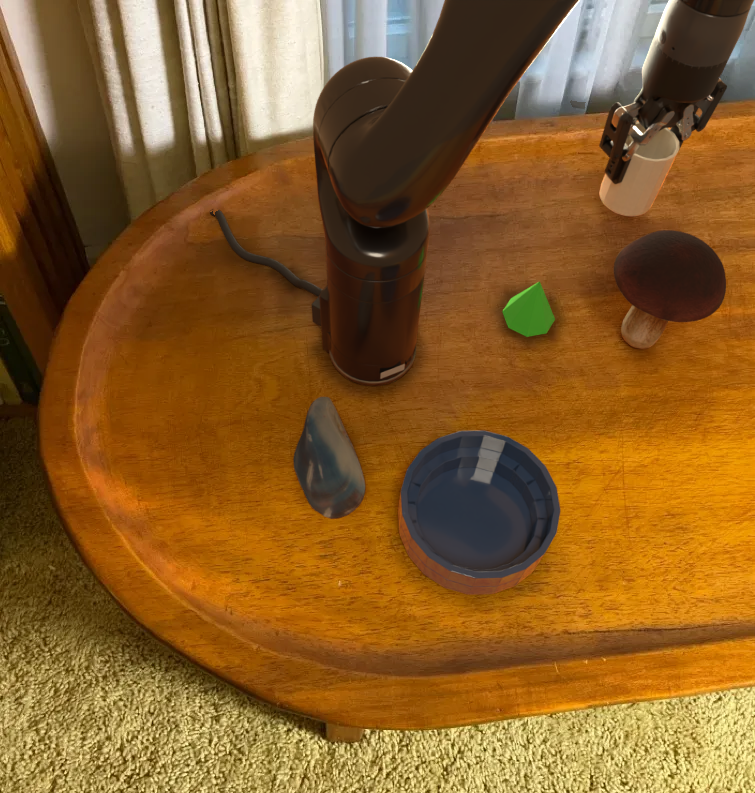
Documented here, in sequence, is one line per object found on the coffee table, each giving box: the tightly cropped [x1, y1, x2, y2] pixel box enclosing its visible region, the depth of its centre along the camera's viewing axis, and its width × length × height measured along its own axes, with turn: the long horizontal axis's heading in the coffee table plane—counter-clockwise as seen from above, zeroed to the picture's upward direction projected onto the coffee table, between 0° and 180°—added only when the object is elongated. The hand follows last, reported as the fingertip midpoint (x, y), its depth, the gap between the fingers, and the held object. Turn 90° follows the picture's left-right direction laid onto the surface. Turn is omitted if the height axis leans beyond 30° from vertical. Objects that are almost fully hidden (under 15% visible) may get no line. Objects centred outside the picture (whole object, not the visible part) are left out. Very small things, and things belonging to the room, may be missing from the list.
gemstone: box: [501, 281, 556, 338], centre depth 83 cm, size 6×6×6 cm
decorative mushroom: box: [612, 229, 727, 350], centre depth 78 cm, size 11×11×15 cm
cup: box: [598, 121, 680, 217], centre depth 89 cm, size 6×6×8 cm
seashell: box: [293, 396, 366, 520], centre depth 73 cm, size 6×9×10 cm
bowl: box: [397, 429, 561, 596], centre depth 70 cm, size 14×14×6 cm
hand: (638, 169), depth 89 cm, fingers closed on cup, 6 cm apart
